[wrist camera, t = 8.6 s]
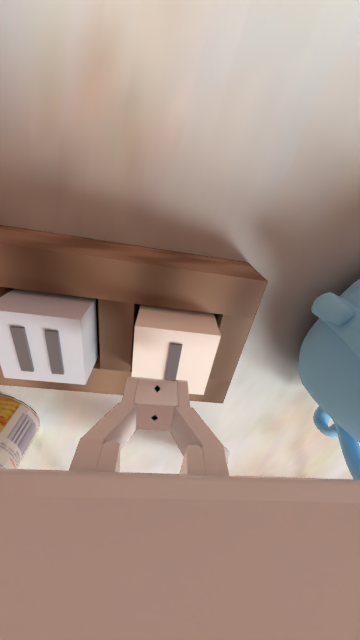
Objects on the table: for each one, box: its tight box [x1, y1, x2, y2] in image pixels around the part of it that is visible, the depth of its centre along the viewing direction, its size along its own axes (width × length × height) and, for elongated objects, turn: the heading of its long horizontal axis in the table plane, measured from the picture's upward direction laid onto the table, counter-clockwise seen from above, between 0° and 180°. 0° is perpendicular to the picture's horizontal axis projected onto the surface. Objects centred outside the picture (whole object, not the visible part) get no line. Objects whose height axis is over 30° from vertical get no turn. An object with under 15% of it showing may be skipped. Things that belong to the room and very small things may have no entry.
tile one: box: [132, 304, 221, 395], centre depth 15 cm, size 5×5×3 cm
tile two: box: [0, 288, 98, 385], centre depth 14 cm, size 5×5×3 cm
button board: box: [0, 225, 268, 403], centre depth 17 cm, size 26×11×4 cm, turn 81°
